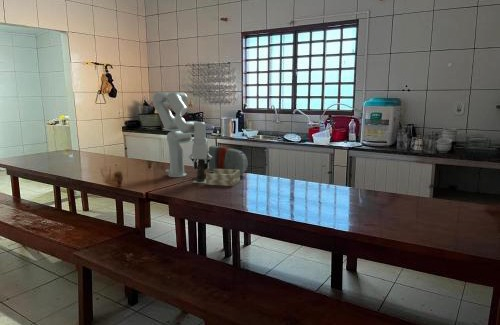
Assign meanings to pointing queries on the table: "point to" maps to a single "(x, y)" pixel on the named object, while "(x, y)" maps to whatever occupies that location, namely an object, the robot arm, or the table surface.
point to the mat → (199, 182)
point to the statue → (200, 171)
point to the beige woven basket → (223, 177)
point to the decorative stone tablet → (227, 159)
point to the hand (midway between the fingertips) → (201, 168)
